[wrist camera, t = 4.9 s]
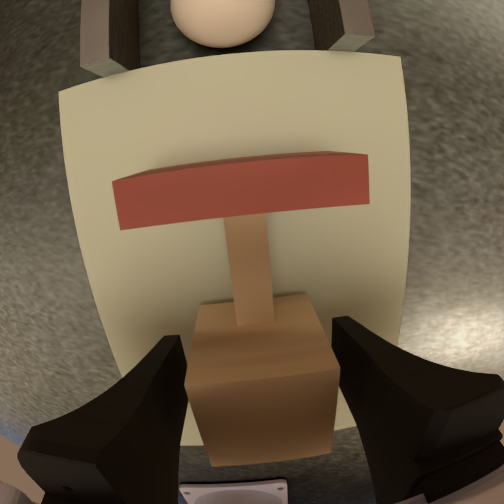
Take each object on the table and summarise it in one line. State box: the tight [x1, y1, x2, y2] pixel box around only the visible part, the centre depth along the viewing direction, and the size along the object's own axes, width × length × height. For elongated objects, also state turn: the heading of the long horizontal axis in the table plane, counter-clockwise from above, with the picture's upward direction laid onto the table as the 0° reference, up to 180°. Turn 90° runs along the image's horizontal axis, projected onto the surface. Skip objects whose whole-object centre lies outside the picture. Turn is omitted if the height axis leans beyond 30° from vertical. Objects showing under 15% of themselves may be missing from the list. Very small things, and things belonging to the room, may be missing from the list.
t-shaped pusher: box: [112, 151, 370, 466], centre depth 9 cm, size 9×6×4 cm, turn 5°
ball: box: [171, 0, 275, 48], centre depth 8 cm, size 4×4×4 cm
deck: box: [59, 50, 411, 446], centre depth 13 cm, size 18×13×2 cm
